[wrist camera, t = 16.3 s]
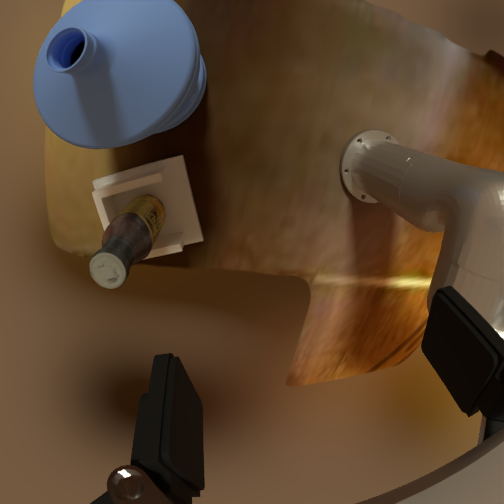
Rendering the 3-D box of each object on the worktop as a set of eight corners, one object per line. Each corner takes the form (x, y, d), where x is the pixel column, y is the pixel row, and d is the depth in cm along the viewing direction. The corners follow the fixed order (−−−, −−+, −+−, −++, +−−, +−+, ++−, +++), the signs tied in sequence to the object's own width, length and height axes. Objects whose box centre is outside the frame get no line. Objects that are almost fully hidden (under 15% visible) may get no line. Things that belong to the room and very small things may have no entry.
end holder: (183, 154, 42) (178, 160, 37) (203, 237, 49) (202, 253, 44) (95, 179, 42) (81, 188, 37) (121, 256, 48) (111, 272, 43)
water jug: (95, 124, 38) (-31, 155, 13) (122, 30, 32) (24, -39, 7) (189, 143, 42) (147, 190, 17) (220, 46, 35) (227, -44, 11)
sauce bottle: (164, 232, 46) (137, 308, 28) (127, 226, 45) (82, 298, 27) (170, 193, 43) (139, 251, 26) (130, 187, 42) (78, 241, 25)
